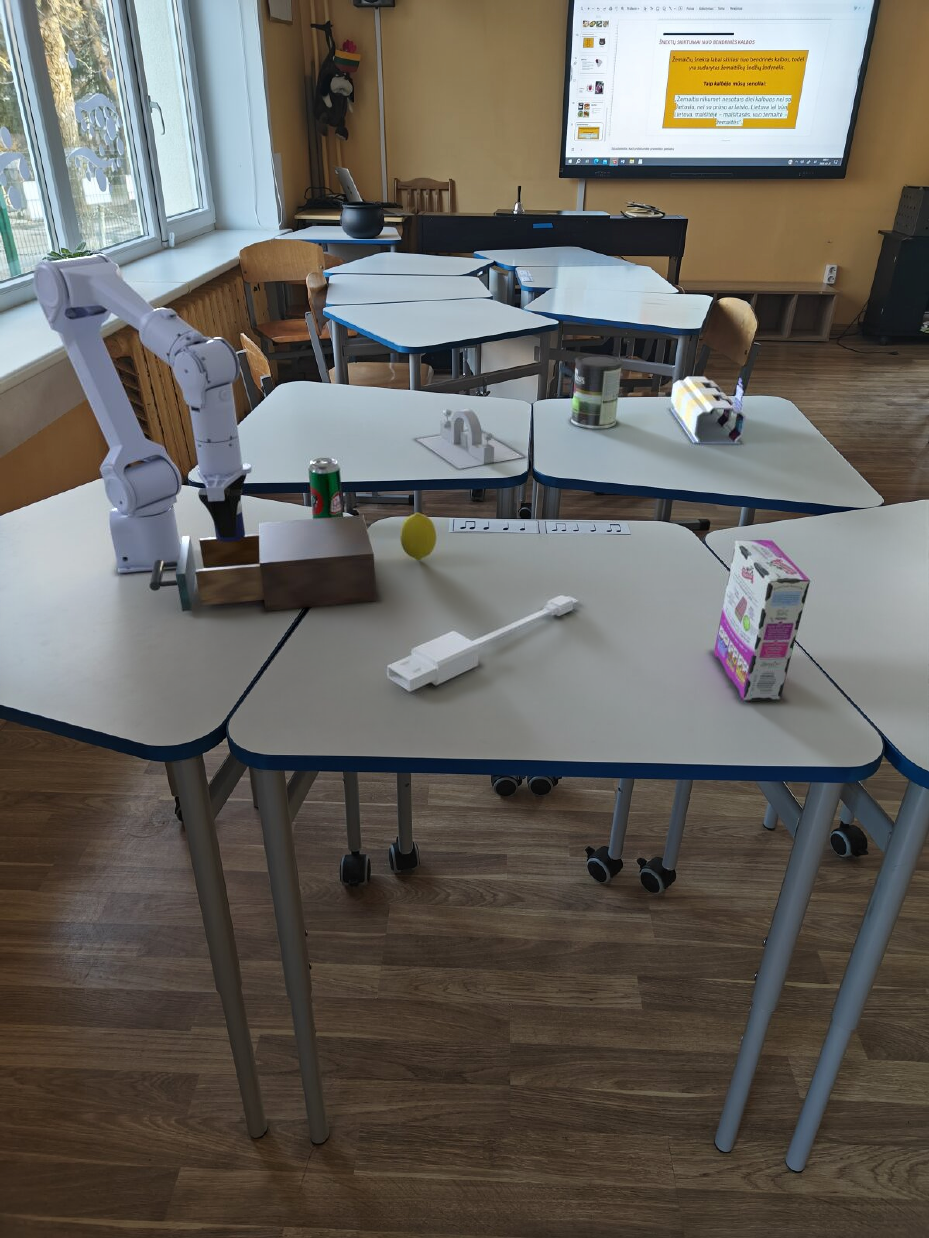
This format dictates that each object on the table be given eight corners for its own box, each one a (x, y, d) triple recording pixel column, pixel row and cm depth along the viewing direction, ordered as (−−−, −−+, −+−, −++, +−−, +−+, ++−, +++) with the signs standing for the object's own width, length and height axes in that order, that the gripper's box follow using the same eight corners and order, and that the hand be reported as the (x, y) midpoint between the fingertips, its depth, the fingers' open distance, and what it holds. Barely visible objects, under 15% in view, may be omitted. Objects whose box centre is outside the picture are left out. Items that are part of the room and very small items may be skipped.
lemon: (423, 571, 131) (422, 523, 127) (394, 562, 134) (392, 515, 130) (443, 557, 135) (442, 510, 131) (414, 549, 138) (413, 503, 134)
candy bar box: (783, 701, 103) (813, 580, 94) (743, 702, 102) (769, 581, 94) (749, 651, 112) (773, 537, 104) (712, 652, 112) (733, 538, 104)
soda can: (338, 537, 141) (333, 468, 135) (309, 534, 142) (303, 466, 136) (348, 525, 146) (343, 458, 140) (319, 522, 146) (314, 455, 140)
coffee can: (576, 429, 191) (581, 366, 184) (566, 416, 200) (571, 354, 193) (621, 428, 192) (628, 365, 185) (609, 414, 201) (615, 353, 194)
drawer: (151, 614, 117) (143, 577, 114) (159, 573, 128) (152, 538, 125) (288, 601, 121) (284, 565, 118) (285, 562, 131) (282, 528, 128)
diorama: (741, 443, 184) (751, 383, 177) (693, 443, 184) (702, 382, 177) (712, 409, 205) (721, 354, 199) (669, 409, 205) (677, 353, 199)
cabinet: (265, 611, 120) (259, 563, 116) (264, 568, 132) (258, 523, 128) (376, 600, 123) (373, 553, 119) (365, 559, 135) (363, 515, 131)
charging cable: (585, 616, 122) (588, 595, 120) (411, 699, 102) (412, 675, 100) (559, 603, 125) (561, 582, 123) (385, 681, 105) (385, 658, 103)
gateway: (493, 461, 173) (494, 423, 169) (483, 463, 172) (484, 424, 168) (449, 434, 188) (449, 397, 184) (440, 435, 187) (440, 399, 183)
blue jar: (214, 542, 119) (209, 511, 116) (217, 530, 122) (212, 499, 120) (244, 541, 119) (239, 509, 117) (246, 529, 123) (242, 498, 120)
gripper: (241, 453, 108) (254, 550, 114) (251, 418, 120) (262, 508, 127) (184, 455, 107) (200, 553, 114) (200, 419, 119) (213, 510, 126)
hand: (229, 529), depth 120 cm, fingers closed on blue jar, 4 cm apart
